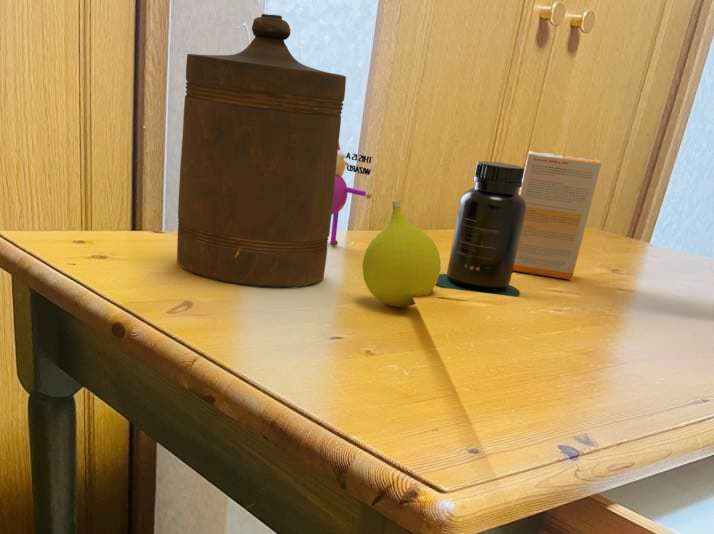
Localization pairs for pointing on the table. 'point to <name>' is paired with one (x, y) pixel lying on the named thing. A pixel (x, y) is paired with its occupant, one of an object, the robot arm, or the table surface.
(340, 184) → the wizard figurine
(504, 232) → the supplement bottle
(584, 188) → the supplement box
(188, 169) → the wooden container
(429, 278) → the yellow-green fig
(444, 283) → the dark green coaster
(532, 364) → the table surface
